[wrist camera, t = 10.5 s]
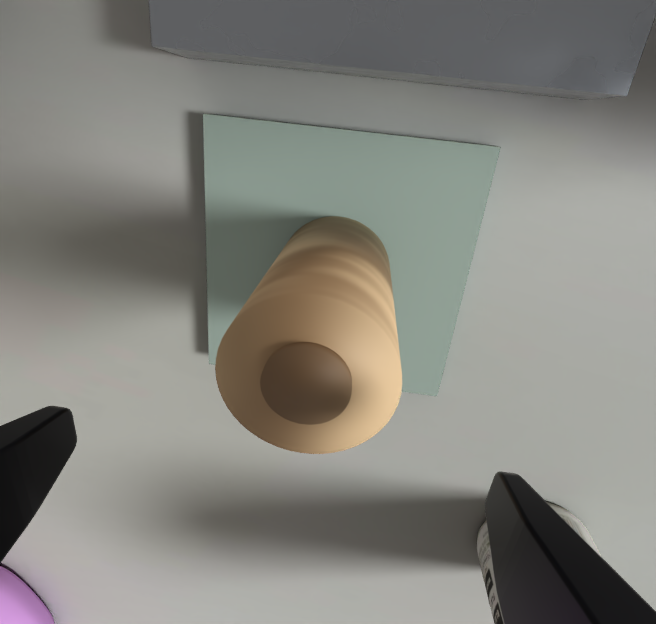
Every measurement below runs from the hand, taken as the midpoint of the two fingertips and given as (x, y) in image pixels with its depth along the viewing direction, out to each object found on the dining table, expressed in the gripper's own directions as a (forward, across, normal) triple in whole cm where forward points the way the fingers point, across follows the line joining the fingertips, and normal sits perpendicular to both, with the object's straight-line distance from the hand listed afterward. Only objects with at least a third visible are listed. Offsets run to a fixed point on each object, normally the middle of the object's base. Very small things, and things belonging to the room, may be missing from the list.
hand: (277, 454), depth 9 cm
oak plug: (+12, 0, 0) cm, 12 cm away
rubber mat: (+13, 0, 0) cm, 13 cm away
